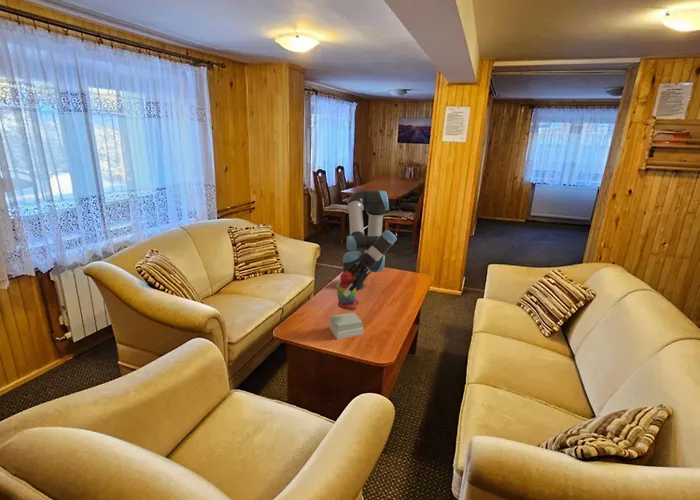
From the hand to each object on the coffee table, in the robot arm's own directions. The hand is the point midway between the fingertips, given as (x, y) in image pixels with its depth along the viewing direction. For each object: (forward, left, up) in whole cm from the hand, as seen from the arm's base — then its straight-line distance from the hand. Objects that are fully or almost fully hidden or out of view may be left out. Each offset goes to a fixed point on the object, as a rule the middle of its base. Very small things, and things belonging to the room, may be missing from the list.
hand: (341, 291), depth 185 cm
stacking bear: (0, +3, -8) cm, 9 cm away
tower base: (0, +3, -23) cm, 23 cm away
